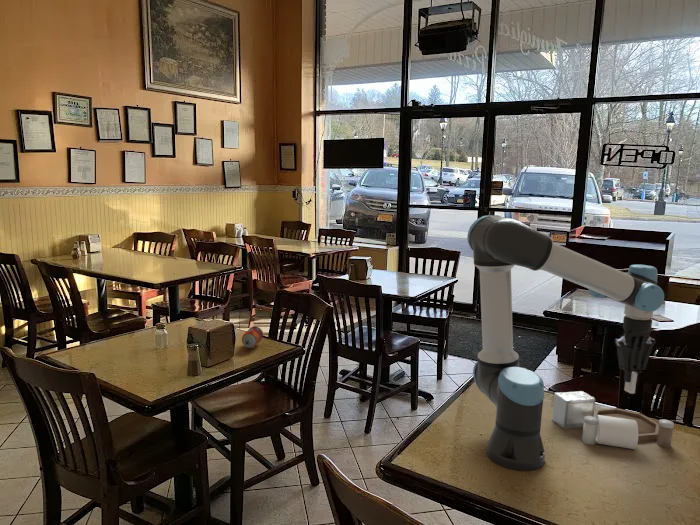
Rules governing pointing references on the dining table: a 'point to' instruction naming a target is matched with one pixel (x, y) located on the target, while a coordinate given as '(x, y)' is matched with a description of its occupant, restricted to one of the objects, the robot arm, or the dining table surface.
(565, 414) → the white box
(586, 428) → the salt shaker
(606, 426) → the white cylinder
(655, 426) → the tray
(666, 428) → the pepper shaker
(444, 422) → the dining table surface
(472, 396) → the dining table surface
